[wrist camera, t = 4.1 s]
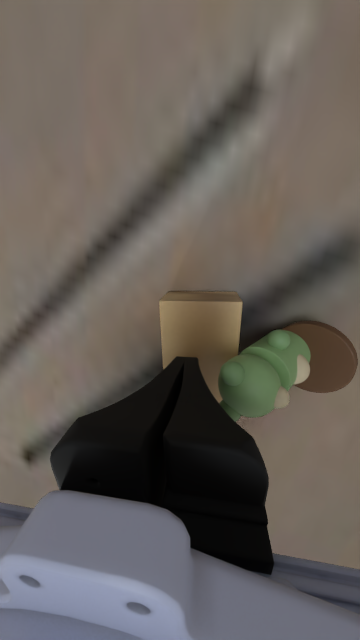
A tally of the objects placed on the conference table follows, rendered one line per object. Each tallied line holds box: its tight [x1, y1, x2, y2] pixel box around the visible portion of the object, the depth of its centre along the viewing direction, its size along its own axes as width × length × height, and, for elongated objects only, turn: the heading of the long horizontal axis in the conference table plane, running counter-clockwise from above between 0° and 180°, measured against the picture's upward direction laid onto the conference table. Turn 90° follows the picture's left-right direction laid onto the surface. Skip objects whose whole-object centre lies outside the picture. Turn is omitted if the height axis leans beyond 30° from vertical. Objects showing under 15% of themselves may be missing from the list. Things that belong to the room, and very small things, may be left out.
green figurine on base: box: [218, 321, 358, 422], centre depth 12 cm, size 8×5×7 cm, turn 92°
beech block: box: [159, 291, 243, 403], centre depth 14 cm, size 5×8×3 cm, turn 2°
